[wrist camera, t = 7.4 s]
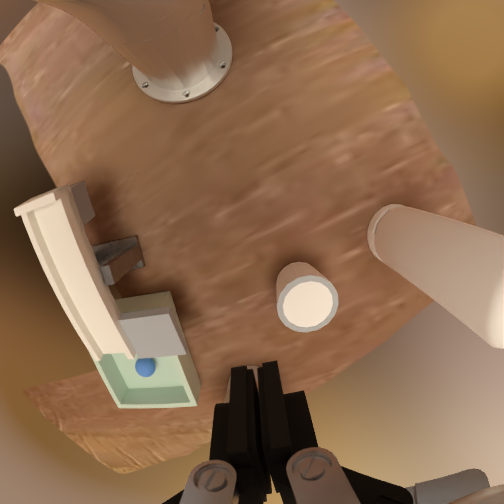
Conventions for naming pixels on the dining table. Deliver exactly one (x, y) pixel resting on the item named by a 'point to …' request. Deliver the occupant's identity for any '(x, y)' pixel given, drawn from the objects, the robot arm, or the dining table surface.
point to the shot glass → (305, 298)
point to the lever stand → (118, 258)
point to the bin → (166, 368)
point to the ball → (145, 367)
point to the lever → (91, 280)
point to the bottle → (446, 264)
